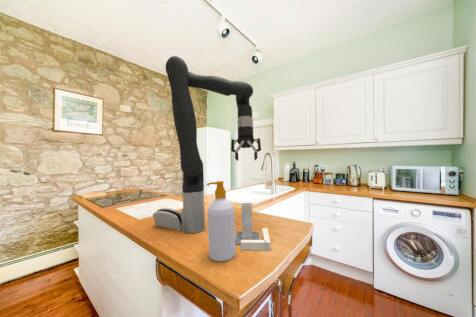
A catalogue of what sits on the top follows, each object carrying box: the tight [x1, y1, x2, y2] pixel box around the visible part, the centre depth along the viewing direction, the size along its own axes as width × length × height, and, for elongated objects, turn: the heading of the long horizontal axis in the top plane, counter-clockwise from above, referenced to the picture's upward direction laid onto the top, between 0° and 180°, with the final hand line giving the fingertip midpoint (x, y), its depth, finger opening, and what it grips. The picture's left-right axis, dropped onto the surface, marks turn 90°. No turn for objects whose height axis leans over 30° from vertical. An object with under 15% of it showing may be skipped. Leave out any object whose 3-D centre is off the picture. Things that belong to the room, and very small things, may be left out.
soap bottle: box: [206, 180, 237, 262], centre depth 57 cm, size 9×9×24 cm
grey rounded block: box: [152, 207, 182, 232], centre depth 83 cm, size 17×5×10 cm, turn 64°
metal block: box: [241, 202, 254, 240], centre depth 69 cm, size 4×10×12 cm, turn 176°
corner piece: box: [240, 227, 272, 251], centre depth 66 cm, size 10×12×2 cm
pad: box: [235, 231, 260, 246], centre depth 69 cm, size 9×11×1 cm
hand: (246, 160), depth 85 cm, fingers open, 8 cm apart
